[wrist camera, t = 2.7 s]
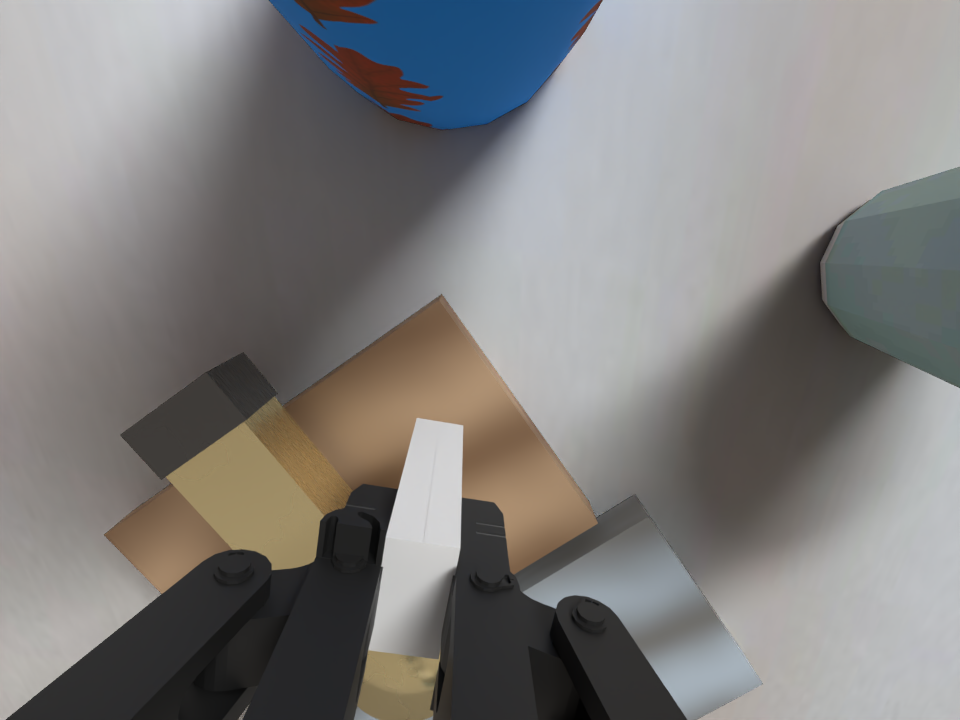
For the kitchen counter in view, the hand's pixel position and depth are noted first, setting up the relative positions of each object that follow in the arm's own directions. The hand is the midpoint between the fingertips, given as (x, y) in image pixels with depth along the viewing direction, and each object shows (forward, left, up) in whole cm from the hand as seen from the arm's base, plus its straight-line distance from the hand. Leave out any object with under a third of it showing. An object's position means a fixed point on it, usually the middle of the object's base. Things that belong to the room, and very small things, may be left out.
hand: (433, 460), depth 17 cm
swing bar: (-1, +6, -4) cm, 8 cm away
